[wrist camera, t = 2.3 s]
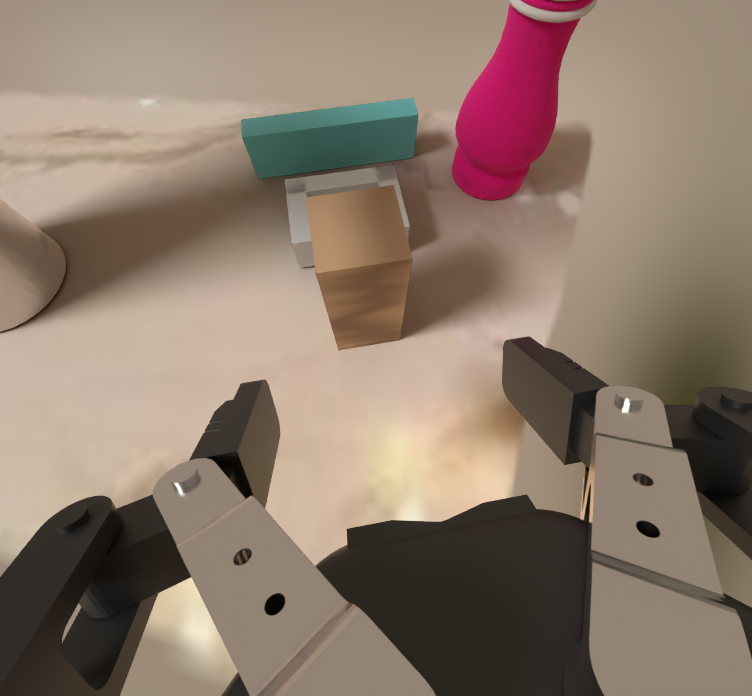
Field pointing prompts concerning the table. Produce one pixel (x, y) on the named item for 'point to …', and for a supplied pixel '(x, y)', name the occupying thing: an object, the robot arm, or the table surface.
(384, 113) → the wall
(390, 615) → the robot arm
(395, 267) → the peg
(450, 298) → the table surface
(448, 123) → the table surface
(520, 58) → the pepper mill
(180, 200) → the table surface
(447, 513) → the table surface
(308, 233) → the frame
